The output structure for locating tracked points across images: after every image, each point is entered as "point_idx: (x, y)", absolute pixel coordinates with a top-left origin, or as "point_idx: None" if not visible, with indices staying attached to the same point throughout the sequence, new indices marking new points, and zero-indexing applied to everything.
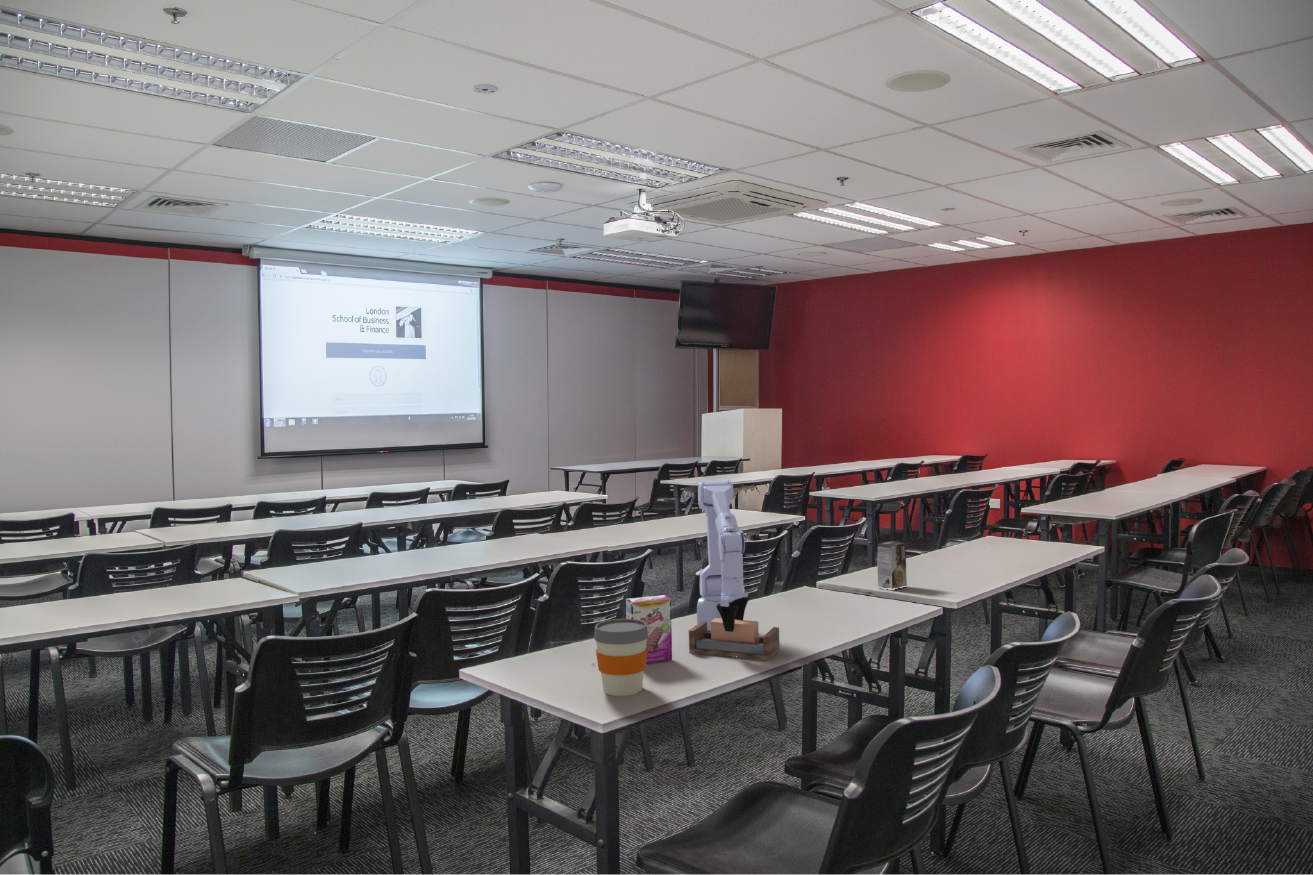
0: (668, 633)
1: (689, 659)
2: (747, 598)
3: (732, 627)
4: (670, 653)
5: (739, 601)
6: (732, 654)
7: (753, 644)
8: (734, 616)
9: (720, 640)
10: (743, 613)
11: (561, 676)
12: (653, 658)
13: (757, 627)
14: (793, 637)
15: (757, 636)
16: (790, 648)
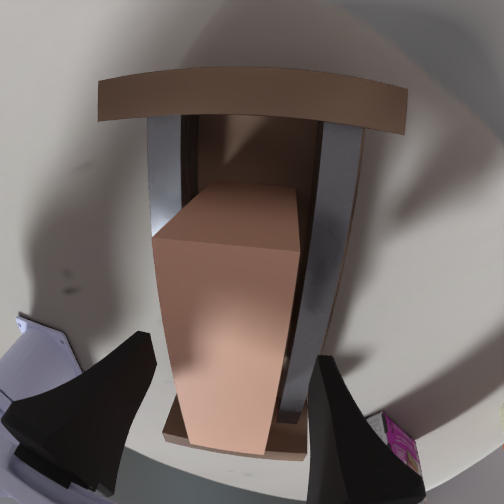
0: None
1: (373, 384)
2: (35, 442)
3: (340, 375)
4: (387, 427)
5: (86, 457)
6: (339, 281)
7: (349, 198)
8: (362, 433)
9: (297, 363)
10: (110, 371)
11: (442, 466)
12: (403, 435)
13: (195, 221)
14: (14, 113)
15: (220, 201)
16: (131, 53)
